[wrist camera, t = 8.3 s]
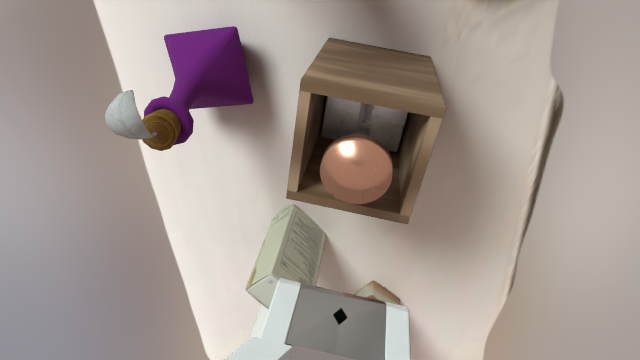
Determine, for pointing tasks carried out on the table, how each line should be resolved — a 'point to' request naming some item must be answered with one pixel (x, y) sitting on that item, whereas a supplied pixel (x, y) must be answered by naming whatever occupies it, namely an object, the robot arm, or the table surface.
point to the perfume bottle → (186, 88)
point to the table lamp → (359, 149)
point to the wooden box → (375, 89)
